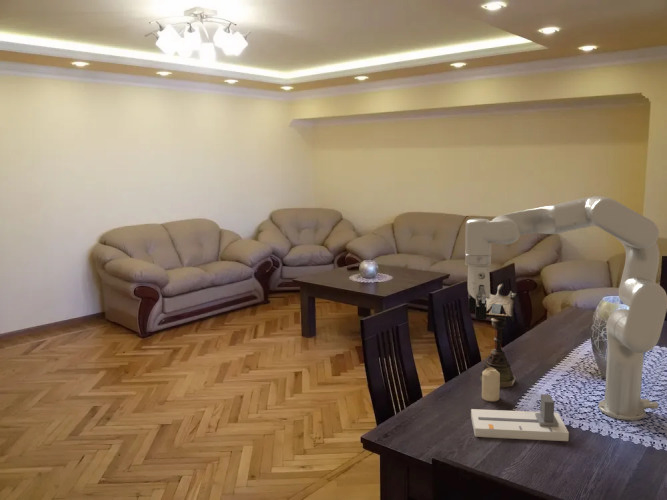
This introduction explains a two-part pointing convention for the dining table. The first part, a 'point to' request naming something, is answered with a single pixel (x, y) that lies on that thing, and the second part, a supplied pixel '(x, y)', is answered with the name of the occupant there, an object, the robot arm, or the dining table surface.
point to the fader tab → (546, 412)
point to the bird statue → (500, 334)
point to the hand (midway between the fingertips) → (477, 314)
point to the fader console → (515, 425)
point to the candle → (490, 384)
